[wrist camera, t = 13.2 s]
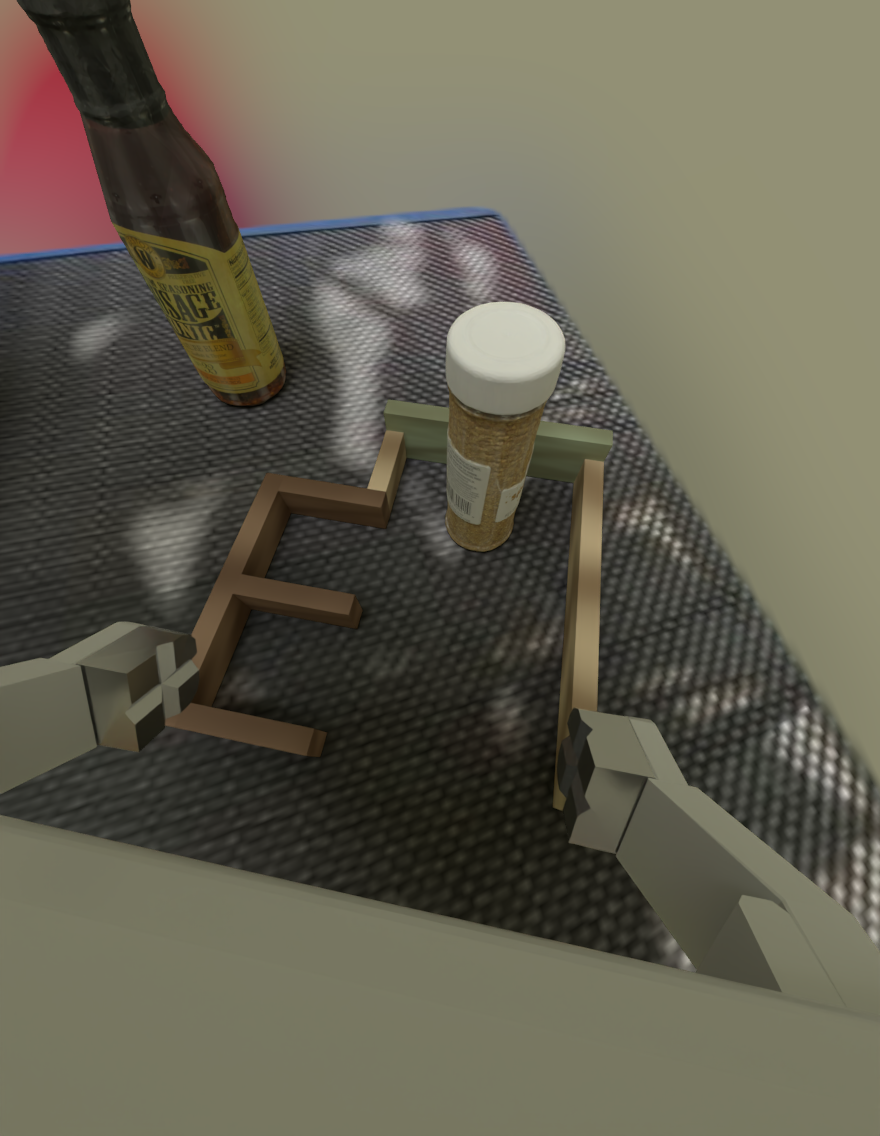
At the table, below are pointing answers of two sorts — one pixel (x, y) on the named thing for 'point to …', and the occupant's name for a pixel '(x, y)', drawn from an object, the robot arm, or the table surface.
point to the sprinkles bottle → (495, 414)
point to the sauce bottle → (164, 198)
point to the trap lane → (406, 436)
